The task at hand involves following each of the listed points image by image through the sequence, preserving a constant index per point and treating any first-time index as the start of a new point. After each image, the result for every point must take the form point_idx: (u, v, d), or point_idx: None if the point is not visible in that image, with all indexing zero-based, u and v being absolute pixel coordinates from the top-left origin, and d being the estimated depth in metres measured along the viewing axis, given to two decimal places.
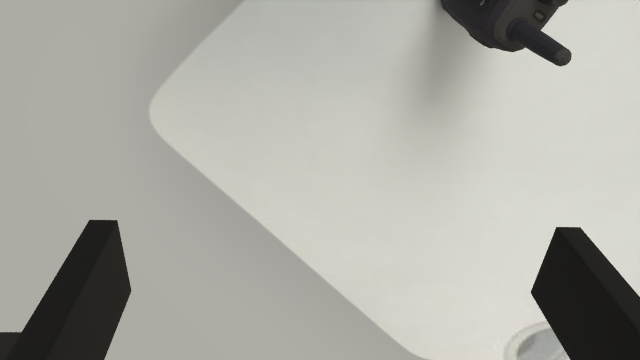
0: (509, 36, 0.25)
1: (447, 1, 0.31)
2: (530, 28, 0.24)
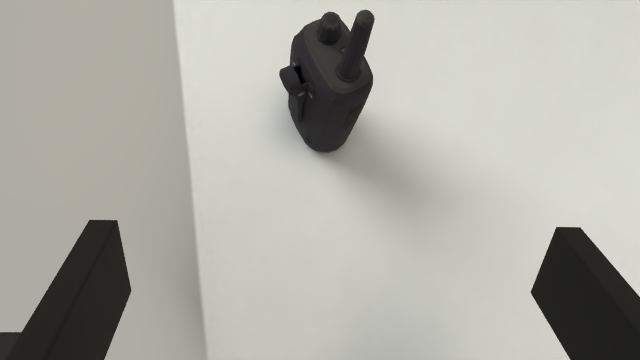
0: (348, 80, 0.24)
1: (316, 140, 0.30)
2: (343, 53, 0.22)
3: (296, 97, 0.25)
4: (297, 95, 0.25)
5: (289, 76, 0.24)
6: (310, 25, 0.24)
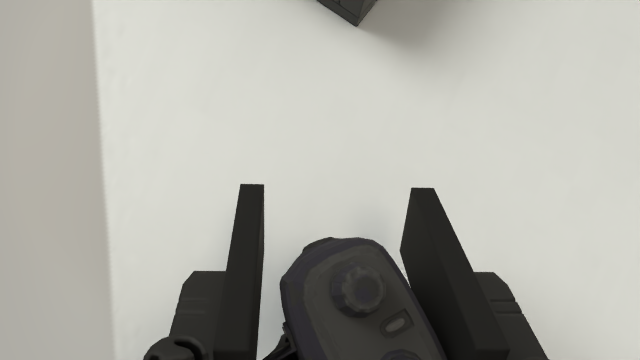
0: None
1: None
2: None
3: None
4: None
5: None
6: (317, 268, 0.11)
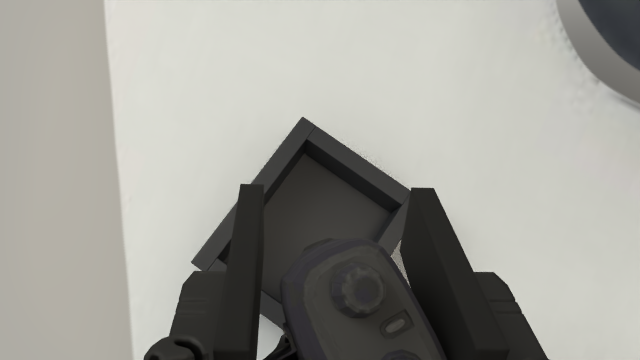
0: None
1: None
2: None
3: None
4: None
5: None
6: (317, 268, 0.11)
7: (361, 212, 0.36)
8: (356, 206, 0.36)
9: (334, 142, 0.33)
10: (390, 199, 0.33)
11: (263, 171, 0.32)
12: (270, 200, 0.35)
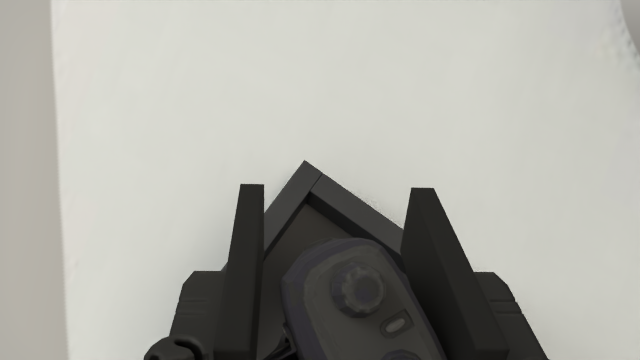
0: None
1: None
2: None
3: None
4: None
5: None
6: (317, 268, 0.11)
7: None
8: None
9: (347, 195, 0.25)
10: None
11: None
12: None
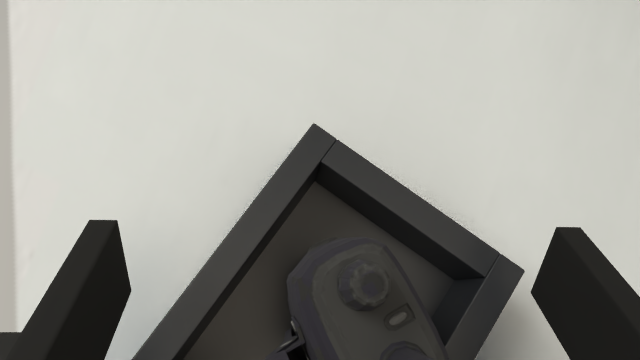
0: None
1: None
2: None
3: None
4: None
5: None
6: (325, 265, 0.12)
7: None
8: None
9: (368, 167, 0.19)
10: (462, 266, 0.19)
11: (245, 218, 0.19)
12: (259, 259, 0.22)
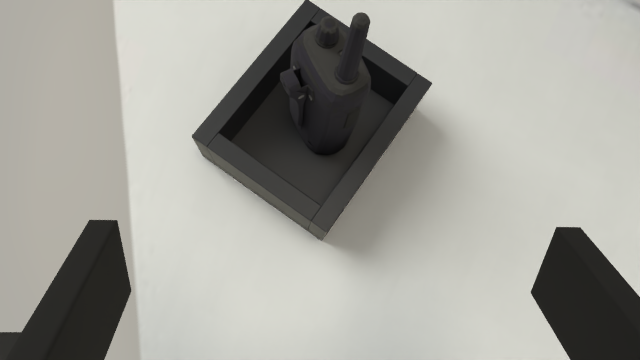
0: (347, 81, 0.24)
1: (317, 142, 0.31)
2: (341, 56, 0.23)
3: (296, 100, 0.26)
4: (298, 98, 0.26)
5: (289, 79, 0.24)
6: (309, 29, 0.25)
7: (366, 104, 0.35)
8: None
9: None
10: (395, 83, 0.32)
11: (266, 50, 0.32)
12: (273, 91, 0.35)
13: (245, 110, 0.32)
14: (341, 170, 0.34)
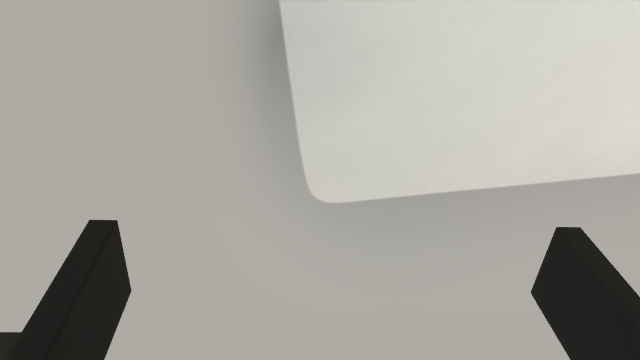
0: None
1: None
2: None
3: None
4: None
5: None
6: None
7: None
8: None
9: None
10: None
11: None
12: None
13: None
14: None
